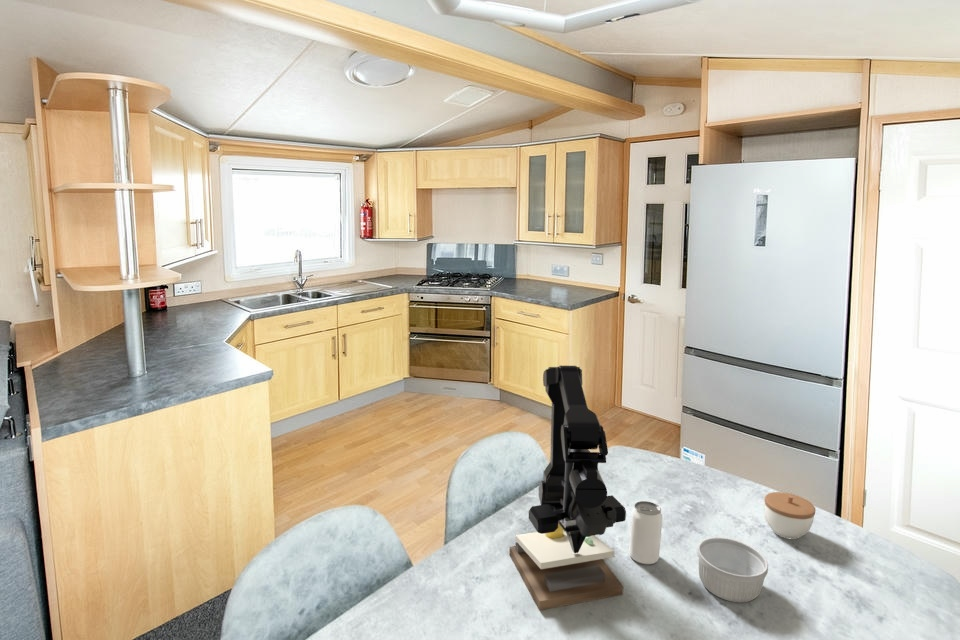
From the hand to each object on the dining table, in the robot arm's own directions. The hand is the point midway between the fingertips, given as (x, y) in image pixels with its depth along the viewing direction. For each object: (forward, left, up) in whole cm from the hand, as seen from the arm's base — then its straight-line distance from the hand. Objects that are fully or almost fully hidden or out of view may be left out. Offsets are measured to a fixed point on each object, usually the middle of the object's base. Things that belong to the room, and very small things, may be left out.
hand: (575, 551), depth 112 cm
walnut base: (-5, 0, -8) cm, 10 cm away
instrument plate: (-6, 0, -3) cm, 6 cm away
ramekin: (+7, +32, -9) cm, 34 cm away
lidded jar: (-6, +59, -9) cm, 60 cm away
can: (-6, +20, -9) cm, 23 cm away
